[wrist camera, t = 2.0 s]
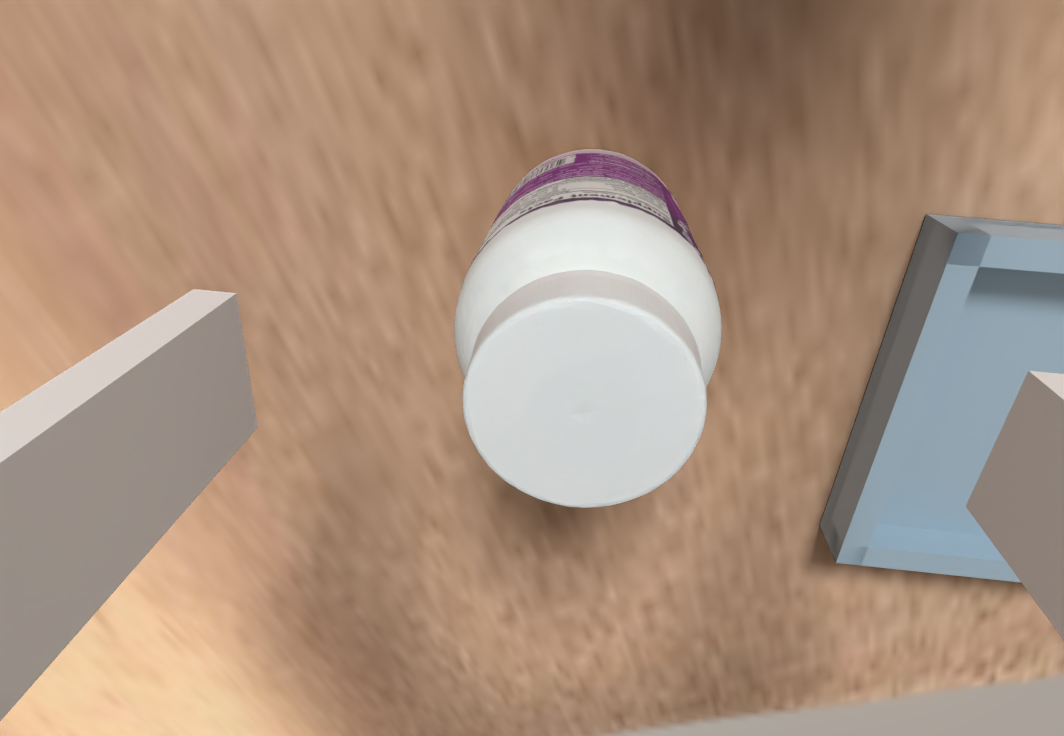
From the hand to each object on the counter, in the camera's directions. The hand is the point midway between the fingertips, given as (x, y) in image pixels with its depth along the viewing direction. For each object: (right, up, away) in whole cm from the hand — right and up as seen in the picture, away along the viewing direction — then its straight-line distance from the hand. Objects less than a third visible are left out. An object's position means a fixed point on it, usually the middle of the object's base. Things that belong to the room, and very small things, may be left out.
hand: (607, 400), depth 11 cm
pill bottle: (0, +4, +8) cm, 9 cm away
